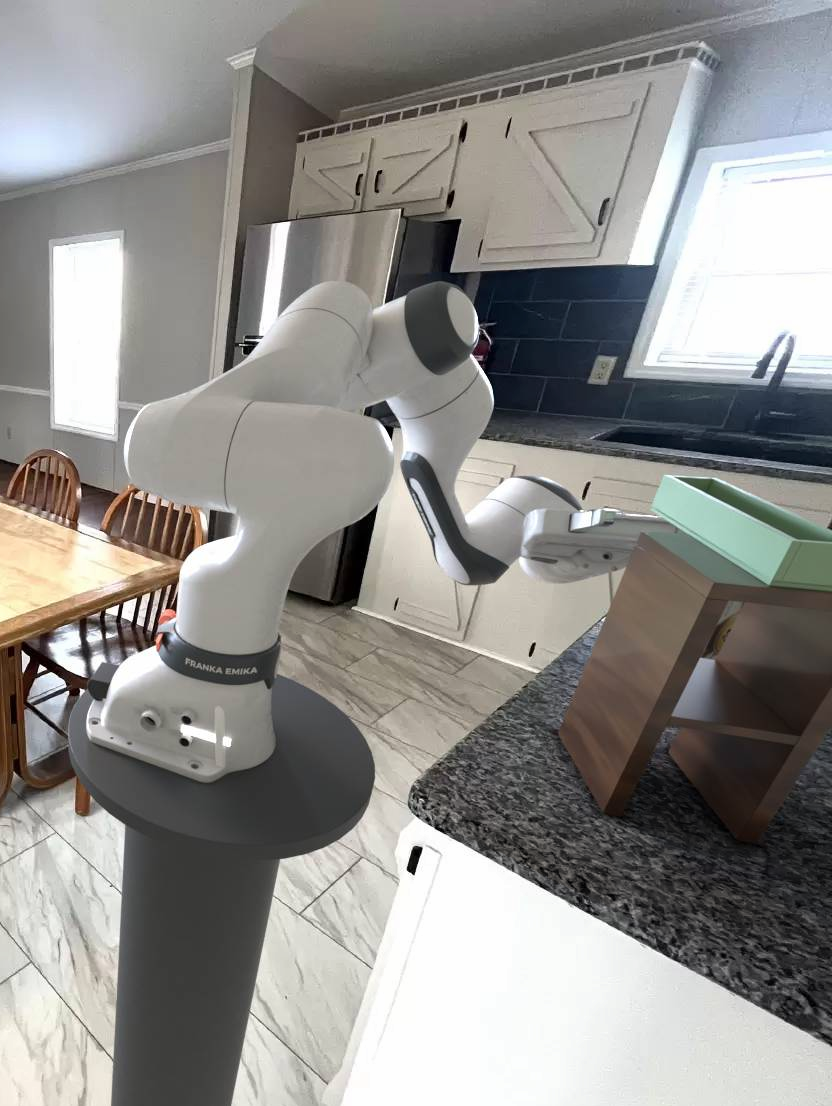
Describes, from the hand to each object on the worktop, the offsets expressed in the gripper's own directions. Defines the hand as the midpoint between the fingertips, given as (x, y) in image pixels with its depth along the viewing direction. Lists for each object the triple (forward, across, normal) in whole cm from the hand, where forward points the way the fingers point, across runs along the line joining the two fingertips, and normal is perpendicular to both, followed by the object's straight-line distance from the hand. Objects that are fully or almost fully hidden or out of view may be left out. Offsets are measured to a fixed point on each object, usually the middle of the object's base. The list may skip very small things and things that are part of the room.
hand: (658, 519), depth 73 cm
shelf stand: (+3, 0, -30) cm, 30 cm away
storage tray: (+12, 0, -5) cm, 14 cm away
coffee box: (-29, -19, -11) cm, 36 cm away
